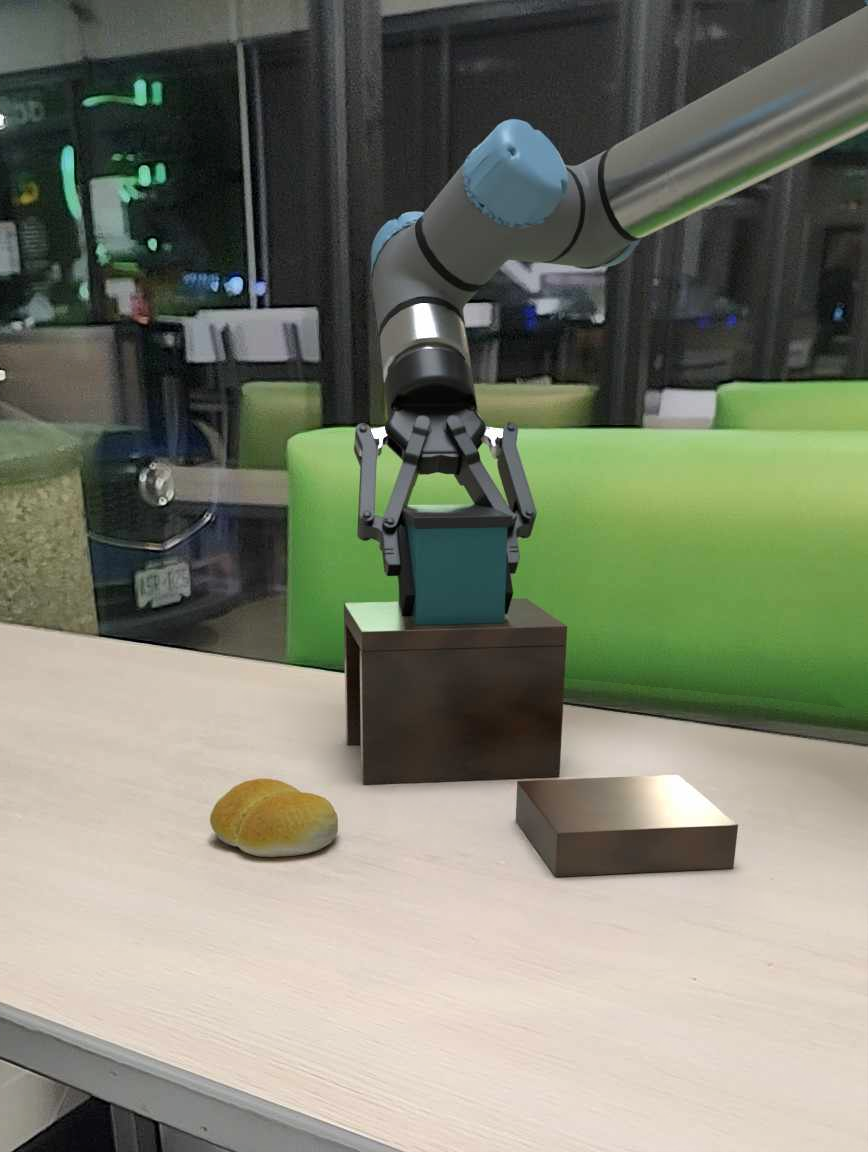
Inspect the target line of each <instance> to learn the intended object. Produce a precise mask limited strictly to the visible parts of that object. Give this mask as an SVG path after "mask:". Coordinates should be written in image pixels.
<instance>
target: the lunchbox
mask: <svg viewBox="0 0 868 1152" xmlns="http://www.w3.org/2000/svg"><path fill="white" fill-rule="evenodd" d="M401 519H402V521H401V526H400V527H407V531H408V539H409V548H410V556H411V564H412V573H413V581H414V590H415V599H414V605H413V611H412V616H409V617H410V619H411V620H412V621H413V622H414V623H415V624H416V625H446V624H483V623H504V620H505V589H506V559H507V528H508V527H511V516H510V515H508V514H505V513H503V512H501V511H499V510H497V509H494V508H492V507H487V506H482V505H476V504H474V503H452V504H449V503H447V504H443V503H442V504H408V505H407V506H406V507H405V508H403V509H402V514H401ZM398 602H399V606H400V607H401V601H400V592H399V591H398Z"/></svg>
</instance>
